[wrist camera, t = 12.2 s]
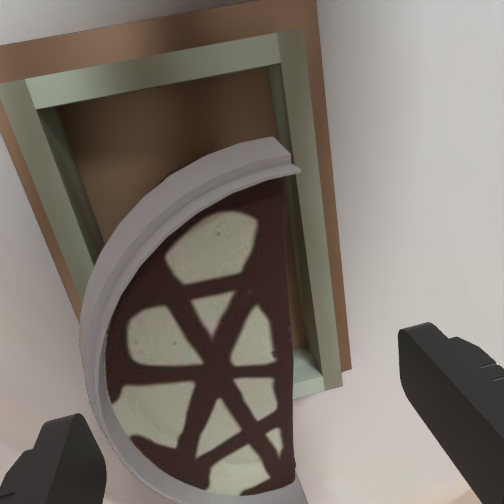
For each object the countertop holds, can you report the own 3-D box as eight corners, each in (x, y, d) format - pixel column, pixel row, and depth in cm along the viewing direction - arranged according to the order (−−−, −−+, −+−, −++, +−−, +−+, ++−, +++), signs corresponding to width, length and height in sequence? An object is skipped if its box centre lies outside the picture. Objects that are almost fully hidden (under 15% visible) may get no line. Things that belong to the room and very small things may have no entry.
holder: (309, -6, 17) (338, -28, 14) (346, 361, 25) (371, 400, 22) (-24, 53, 16) (-73, 43, 13) (124, 419, 24) (116, 469, 21)
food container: (73, 132, 17) (-2, 178, 8) (219, 119, 18) (300, 145, 9) (128, 372, 21) (121, 575, 12) (241, 348, 23) (308, 515, 14)
